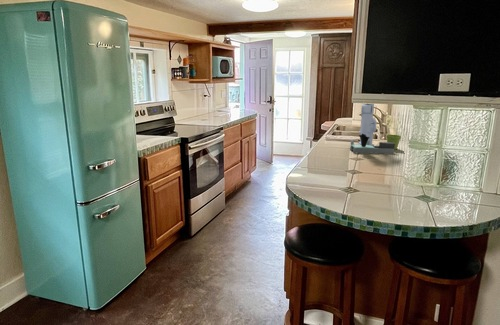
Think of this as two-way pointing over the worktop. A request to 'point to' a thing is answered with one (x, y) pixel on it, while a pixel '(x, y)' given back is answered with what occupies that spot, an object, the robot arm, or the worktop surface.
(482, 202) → the worktop surface
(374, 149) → the grey frame
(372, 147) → the cover
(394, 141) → the plant pot
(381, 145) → the block
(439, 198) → the worktop surface
